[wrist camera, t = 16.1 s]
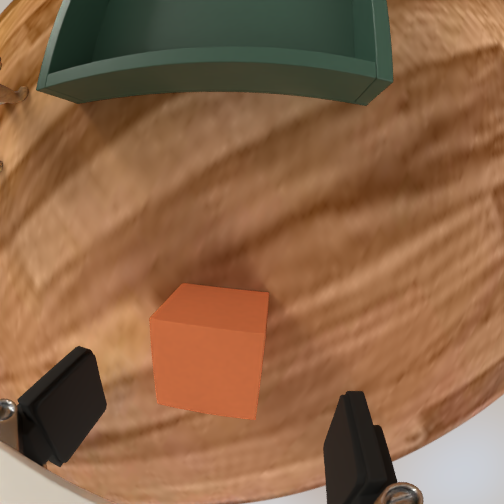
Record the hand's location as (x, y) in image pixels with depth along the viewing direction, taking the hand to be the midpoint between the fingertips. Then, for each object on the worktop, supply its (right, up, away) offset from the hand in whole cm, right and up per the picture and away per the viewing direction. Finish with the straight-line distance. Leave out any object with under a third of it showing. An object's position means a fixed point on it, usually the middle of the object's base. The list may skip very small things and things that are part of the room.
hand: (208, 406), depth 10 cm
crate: (0, +23, +3) cm, 23 cm away
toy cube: (0, +1, +8) cm, 8 cm away
